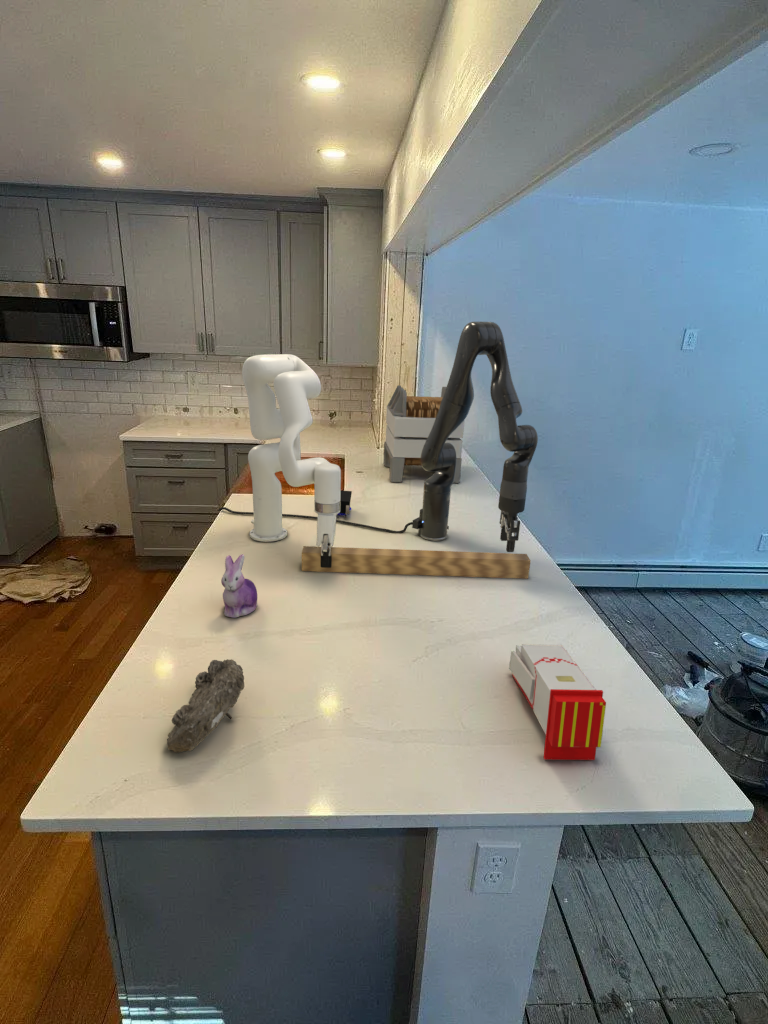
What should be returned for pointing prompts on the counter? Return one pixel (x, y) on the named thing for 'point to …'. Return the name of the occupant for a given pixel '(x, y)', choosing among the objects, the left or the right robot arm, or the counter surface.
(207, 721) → the fossil
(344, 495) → the figurine character
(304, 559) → the beam
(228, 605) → the figurine
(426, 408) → the grey box with legs
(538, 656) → the toy
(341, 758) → the counter surface
